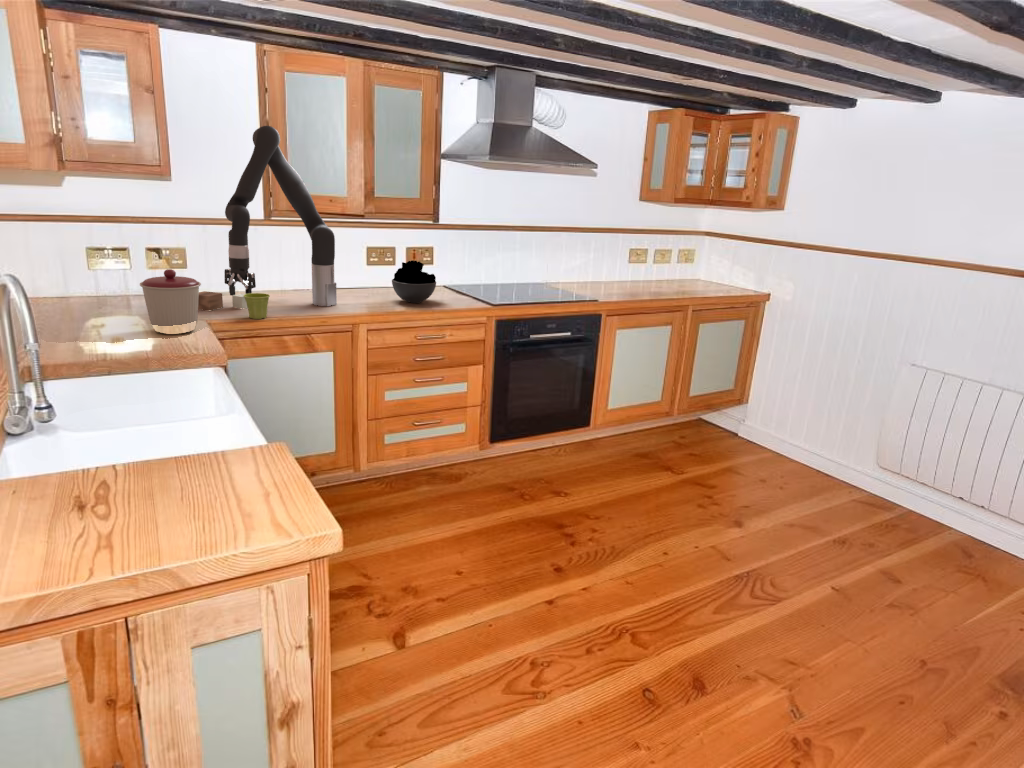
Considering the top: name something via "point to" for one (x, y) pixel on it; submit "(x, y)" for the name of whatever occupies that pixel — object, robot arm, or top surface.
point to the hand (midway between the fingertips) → (240, 296)
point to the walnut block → (210, 300)
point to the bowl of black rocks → (413, 282)
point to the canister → (171, 299)
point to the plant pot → (257, 305)
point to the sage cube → (239, 301)
